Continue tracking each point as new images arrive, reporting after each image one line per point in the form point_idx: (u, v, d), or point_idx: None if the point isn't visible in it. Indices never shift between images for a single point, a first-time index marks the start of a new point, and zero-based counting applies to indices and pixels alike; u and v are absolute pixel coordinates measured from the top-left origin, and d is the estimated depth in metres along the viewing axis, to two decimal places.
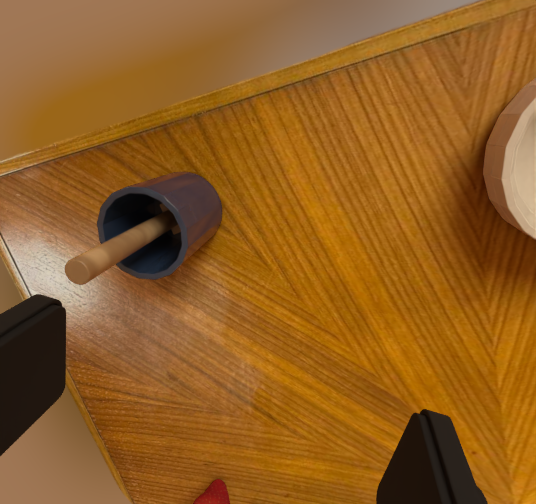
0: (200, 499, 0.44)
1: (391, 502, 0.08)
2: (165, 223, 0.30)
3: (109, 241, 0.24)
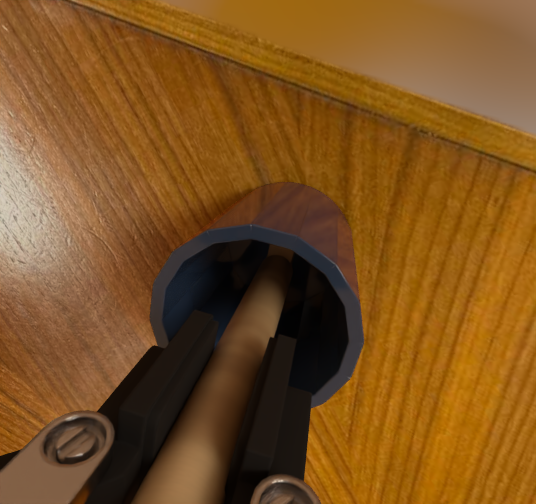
0: None
1: None
2: (283, 303, 0.15)
3: (231, 402, 0.08)
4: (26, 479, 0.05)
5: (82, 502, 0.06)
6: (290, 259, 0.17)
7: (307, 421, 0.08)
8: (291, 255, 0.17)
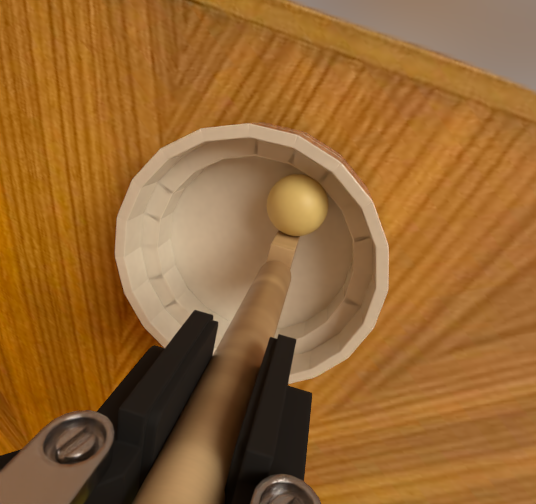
0: None
1: None
2: None
3: (231, 405, 0.08)
4: (26, 479, 0.05)
5: (82, 502, 0.06)
6: (289, 265, 0.17)
7: (307, 421, 0.08)
8: (290, 261, 0.17)
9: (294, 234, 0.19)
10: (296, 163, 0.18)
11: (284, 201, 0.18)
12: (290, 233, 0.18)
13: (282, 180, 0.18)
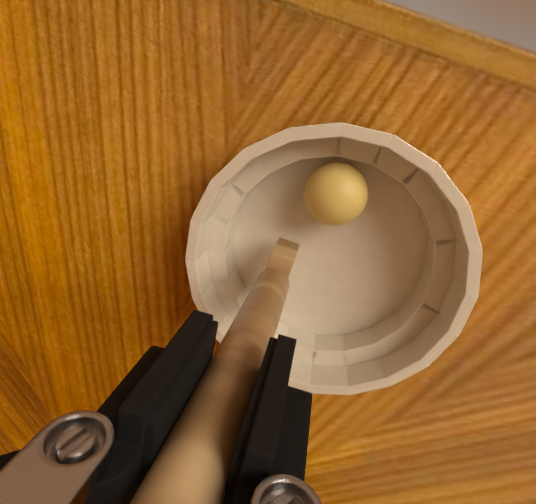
0: None
1: None
2: None
3: (233, 405, 0.08)
4: (26, 479, 0.05)
5: (82, 502, 0.06)
6: (288, 273, 0.18)
7: (307, 421, 0.08)
8: (289, 270, 0.17)
9: None
10: (380, 164, 0.17)
11: (316, 183, 0.17)
12: (307, 208, 0.19)
13: (337, 165, 0.18)
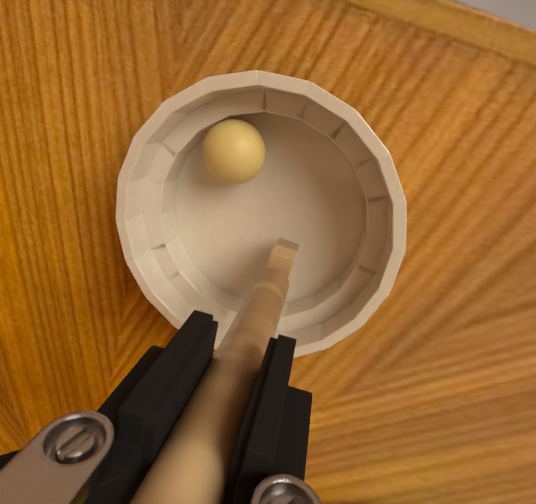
0: None
1: None
2: None
3: (233, 405, 0.08)
4: (26, 479, 0.05)
5: (82, 502, 0.06)
6: (287, 274, 0.18)
7: (307, 421, 0.08)
8: (289, 270, 0.17)
9: None
10: (307, 118, 0.17)
11: None
12: None
13: None
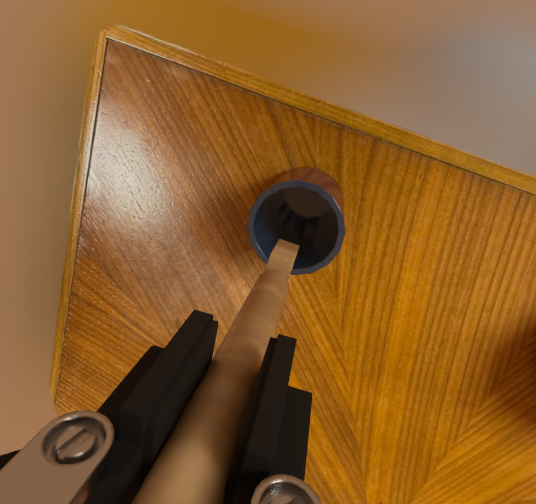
0: None
1: None
2: None
3: (233, 408, 0.08)
4: (26, 479, 0.05)
5: (82, 502, 0.06)
6: (287, 275, 0.18)
7: (307, 421, 0.08)
8: (289, 271, 0.18)
9: None
10: None
11: None
12: None
13: None
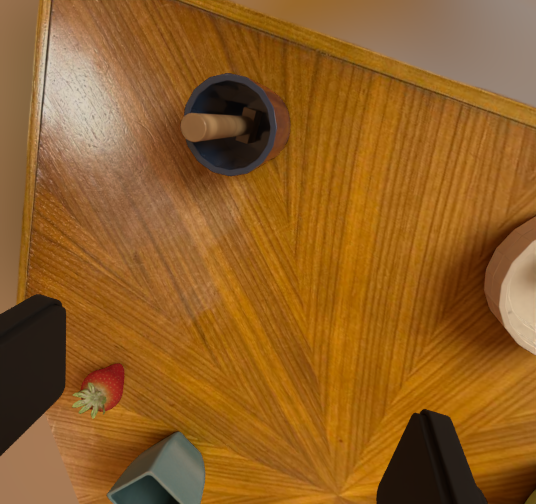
0: (100, 372, 0.45)
1: (391, 502, 0.08)
2: (246, 129, 0.30)
3: (219, 117, 0.24)
4: None
5: None
6: (253, 119, 0.33)
7: None
8: (253, 117, 0.33)
9: None
10: None
11: None
12: None
13: None
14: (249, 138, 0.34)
